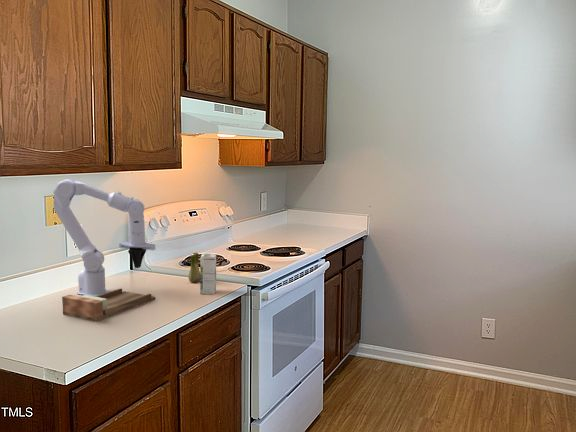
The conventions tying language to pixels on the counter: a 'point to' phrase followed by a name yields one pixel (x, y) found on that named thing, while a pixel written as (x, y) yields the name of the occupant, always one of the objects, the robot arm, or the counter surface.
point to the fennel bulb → (194, 269)
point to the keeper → (97, 299)
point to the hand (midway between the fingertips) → (137, 267)
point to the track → (118, 303)
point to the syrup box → (208, 274)
